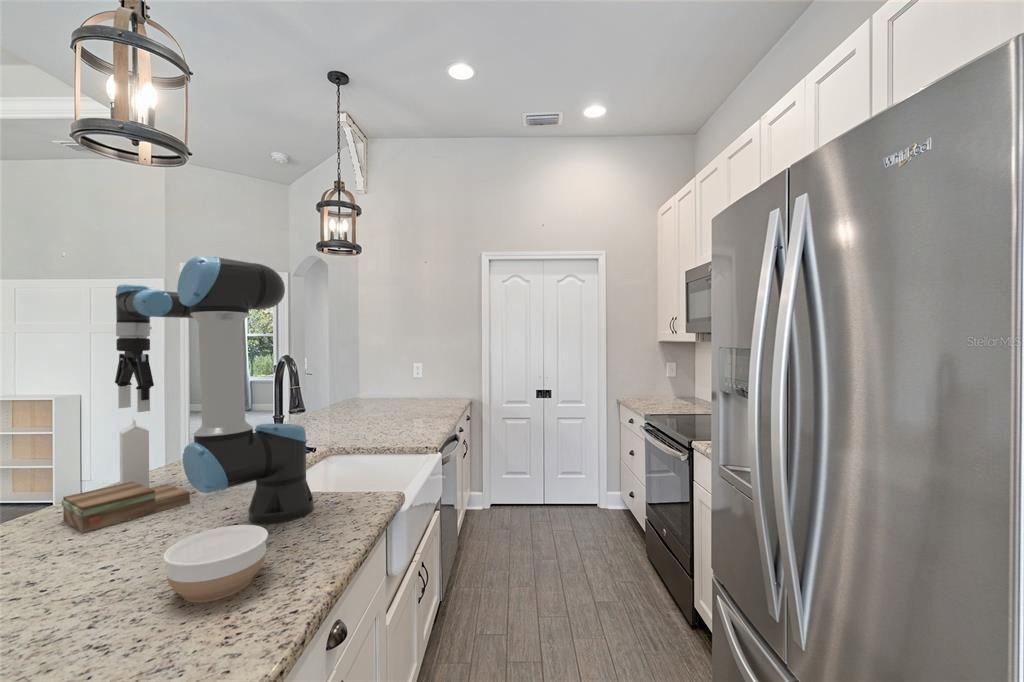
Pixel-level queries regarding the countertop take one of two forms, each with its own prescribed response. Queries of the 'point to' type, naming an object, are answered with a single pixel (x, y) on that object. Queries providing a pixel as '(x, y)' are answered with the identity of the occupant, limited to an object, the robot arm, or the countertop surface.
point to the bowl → (215, 562)
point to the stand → (119, 504)
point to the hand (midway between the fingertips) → (133, 409)
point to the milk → (134, 455)
